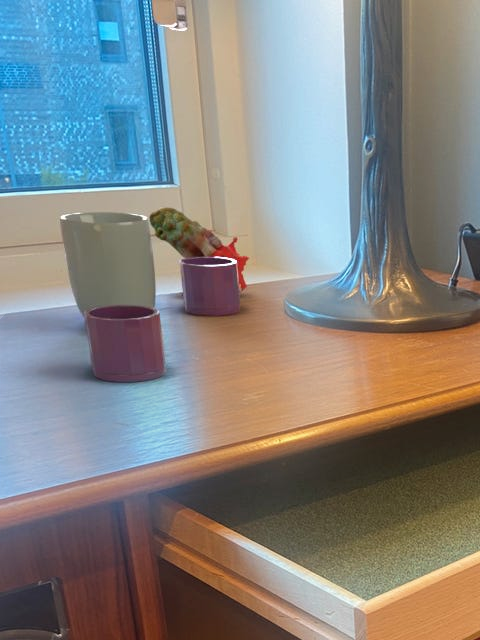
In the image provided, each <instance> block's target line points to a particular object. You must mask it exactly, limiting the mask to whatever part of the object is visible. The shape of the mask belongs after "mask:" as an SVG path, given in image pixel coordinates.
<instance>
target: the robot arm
mask: <svg viewBox="0 0 480 640" xmlns="http://www.w3.org/2000/svg"><path fill="white" fill-rule="evenodd" d="M187 6H188V0H151V8H152V16H153V17H152V18H153V21H154V22H155V24H157V25H158V26H162V27H163V26H164V27H167V28H169V29H170V30H174V31H175V30H176V31H186V30H187V29H188V27H189V23H188V21H189V20H188V19H189V18H188V10H187Z"/></svg>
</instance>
